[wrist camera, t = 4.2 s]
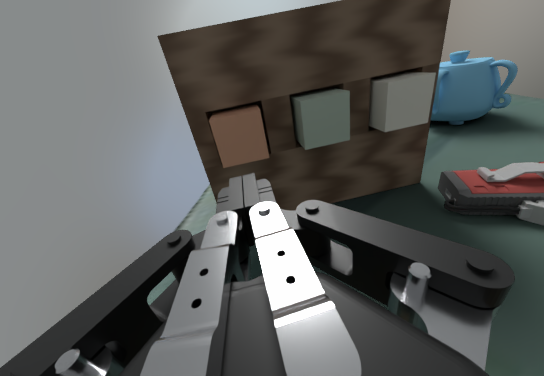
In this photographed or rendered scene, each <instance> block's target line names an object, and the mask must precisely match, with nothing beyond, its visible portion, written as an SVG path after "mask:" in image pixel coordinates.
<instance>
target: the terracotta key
mask: <svg viewBox="0 0 544 376" xmlns="http://www.w3.org/2000/svg"><path fill="white" fill-rule="evenodd" d="M209 123H210V126H211V129H212V133H213V136H214V139H215V142H216V146H217V149H218V152H219V155H220V158H221V162H222V165H223V168H226V167H231V166H235V165H240V164H244V163H249V162H253V161H258V160H262V159H267V158H269V153H268V148H267V143H266V138H265V133H264V127H263V122H262V117H261V112H260V109H259V107H258V106H257V104H253V105H248V106H244V107H239V108H234V109H229V110H225V111H220V112H215V113H213V114H212V116H211V118H210V120H209Z"/></svg>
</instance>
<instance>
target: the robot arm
mask: <svg viewBox="0 0 544 376" xmlns="http://www.w3.org/2000/svg"><path fill="white" fill-rule="evenodd" d="M253 237H254V238H253ZM330 238H332V239H334V240H337V241H339V242H341V243H344V244H345V245H347V246H348V247H349V248H350V249H348V248H346V247H344V246H341V245H339V244H337V243H334V242H332V241H330ZM254 241H255V244H256V245H257V250H258V254H259V258H260V262H261V267H262V271H263V275H261V276H259V277H257V278H255V279H253V280H251V257H250V254H249V252H250V249H249V246H253V245H254ZM311 264H312V265H313V266H315V267H317V268H319V269H321V270H323V271H324V272H326V273H328V274H330V275H332V276H334V277H335V278H337V279H339V280H341V281H343V282H345V283H346V284H348V285H350V286H352V287H354V288H356V289H357V290H359V291H361V292H363V293H365V294H367V295H369V296H370V297H372V298H374V299H376V300H378V301H380V302H381V303H383V304H385V305H387V306H388V307H389V310H390V311H389V310H387V309H385V308H384V307H382V306H380V305H378V304H377V303H375V302H373V301H372V300H370V299H368V298H367V297H365V296H363V295H362V294H360V293H358V292H356V291H355V290H353V289H351V288H350V287H348V286H346V285H345V284H343V283H341V282H340V281H338V280H336V279H334V278H333V277H330V276H328V275H326V274H323V273H319V272H314V270H313V268H312V266H311ZM171 271H172V273H173V275H174V276H175V278H176V280H175V281H174V282H173V283H172V284H171V285H170V286H169V287H168V288H167V289H166V290H165V291H164V292H163V293H162V294H161V295H160V296H159V297H158V298H157V299H156V300H155V301H154V302H153V303H152V304H151V305H148V303H147V297H148V295H149V293H150V292H151V290H152V289H153V288H154V287H155V286H156V285H158V284H159V283H160V282H161V281H162V280H163V279H164V278H165V277H166V276H167V275H168V274H169V273H170V272H171ZM514 280H515V276H514V273H513V271H512V269H511V268H510V267H509V266H508V265H507V264H506V263H505V262H504V261H503V260H501V259H500V258H498V257H496V256H494V255H493V254H490V253H488V252H485V251H483V250H479V249H476V248H473V247H470V246H466V245H463V244H460V243H457V242H453V241H450V240H447V239H443V238H440V237H437V236H434V235H430V234H427V233H424V232H421V231H417V230H414V229H411V228H408V227H404V226H401V225H398V224H395V223H391V222H388V221H385V220H382V219H378V218H375V217H372V216H368V215H365V214H362V213H359V212H355V211H352V210H349V209H346V208H342V207H339V206H336V205H333V204H329V203H326V202H323V201H319V200H308V201H305V202H302V203H301V204H299V205H298V206H297V208H296V210H294V211H289V210H283V209H281V208H279V206H278V205H277V204H276V201H275V197H274V194H273V191H272V188H271V185H270V182H269V181H268V180H266V179H261V180H256V177H255V173H251V174H246V175H243V178H242V176H238V177H233V178H230V179H229V187H226V188H222V189H221V191H220V192H219V193H218V200H217V207H216V214H215V215H214V216H213V217H211V218H210V220H209V221H208V224H207V228H206V230H204V231H202V232H200V233H198V234H195V235H193V236H192V235H191V233H190V232H189V231H188V230H178V231H175V232H172V233H170V234H169V235H167V236H166V237H164V238H163V239H162V240H161V241H159V242H158V243H157V244H156V245H154V246H153V247H152V248H151V249H149V250H148V251H147V252H145V253H144V254H143V255H142V256H141V257H139V258H138V259H137V260H135V261H134V262H133V263H132V264H130V265H129V266H128V267H127V268H125V269H124V270H123V271H122V272H120V273H119V274H118V275H117V276H115V277H114V278H113V279H112V280H110V281H109V282H108V283H107V284H105V285H104V286H103V287H101V288H100V289H99V290H98V291H97V292H95V293H94V294H93V295H91V296H90V297H89V298H88V299H86V300H85V301H84V302H83V303H81V304H80V305H79V306H78V307H76V308H75V309H74V310H73V311H71V312H70V313H69V314H68V315H66V316H65V317H64V318H63V319H61V320H60V321H59V322H58V323H56V324H55V325H54V326H53V327H51V328H50V329H49V330H47V331H46V332H45V333H44V334H42V335H41V336H40V337H39V338H37V339H36V340H35V341H34V342H32V343H31V344H30V345H29V346H27V347H26V348H25V349H24V350H22V351H21V352H20V353H19V354H17V355H16V356H15V357H14V358H12V359H11V360H10V361H8V362H7V363H6V364H5V365H3V366H2V367H1V368H0V376H489V375H488V374H487V373H486V372H485V365H486V358H487V350H488V343H489V336H490V328H491V323H492V322H493V320H494V318H495V316H496V314H497V312H498V310H499V308H500V307H501V305H502V303H503V301H504V299H505V297H506V295H507V293H508V292H509V290H510V288H511V286H512V284H513V282H514Z"/></svg>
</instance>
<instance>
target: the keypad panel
mask: <svg viewBox="0 0 544 376" xmlns="http://www.w3.org/2000/svg"><path fill="white" fill-rule="evenodd" d="M450 1H451V0H341V1H336V2H331V3H326V4H320V5H315V6H310V7H305V8H300V9H295V10H290V11H285V12H279V13H274V14H269V15H264V16H258V17H253V18H248V19H243V20H237V21H232V22H227V23H222V24H217V25H212V26H206V27H202V28H196V29H191V30H186V31H181V32H176V33H171V34H165V35H160V36H158V39H159V42H160V44H161V47H162V50H163V53H164V56H165V58H166V61H167V64H168V67H169V70H170V72H171V75H172V78H173V81H174V84H175V87H176V90H177V92H178V95H179V98H180V101H181V103H182V106H183V109H184V112H185V115H186V118H187V120H188V123H189V126H190V129H191V132H192V134H193V137H194V140H195V143H196V146H197V148H198V151H199V154H200V157H201V160H202V163H203V165H204V168H205V171H206V174H207V177H208V179H209V182H210V185H211V188H212V191H213V194H214V196H215V199H216V202H217V200H218V193H219V192H220V191H221V189H222V188H226V187H229V179H230V178H233V177H238V176H242V178H243V175H246V174H251V173H255V177H256V180H261V179H266V180H268V181H269V182H270V185H271V188H272V191H273V194H274V197H275V201H276V204H277V205H278V206H279V208H281V209H283V210H289V211H294V210H296V208H297V206H298V205H299V204H301V203H302V202H305V201H308V200H319V201H323V202H326V203H329V204H331V203H335V202H339V201H343V200H348V199H352V198H356V197H360V196H365V195H369V194H373V193H377V192H382V191H386V190H390V189H394V188H399V187H403V186H407V185H411V184H416V183H420V180H421V174H422V168H423V162H424V156H425V150H426V145H427V139H428V133H429V127H430V121H431V115H432V109H433V103H434V97H435V91H436V85H437V79H438V73H439V67H440V61H441V55H442V49H443V43H444V37H445V31H446V24H447V19H448V13H449V7H450ZM405 72H423V73H436V75H435V82H434V88H433V94H432V100H431V106H430V112H429V118H428V123H424V124H420V125H415V126H411V127H406V128H402V129H397V130H393V131H388V132H383V131H381V130H378V129H376V128H373V127H371V126H369V101H370V80H372V79H376V78H381V77H386V76H391V75H395V74H400V73H405ZM329 88H336V89H341V90H347V91H350V140H348V141H343V142H339V143H334V144H330V145H325V146H321V147H316V148H312V149H307V150H305V149H304V148H303V146H302V145H301V144H300V143H299V142H298V141H297V140H296V138H295V130H294V122H293V115H292V107H291V99H290V97H291V96H296V95H301V94H305V93H310V92H315V91H320V90H324V89H329ZM253 104H257V106H258V107H259V109H260V112H261V117H262V122H263V127H264V133H265V138H266V143H267V148H268V153H269V158H267V159H262V160H258V161H253V162H249V163H244V164H240V165H235V166H231V167H226V168H223V165H222V162H221V158H220V155H219V152H218V149H217V146H216V142H215V139H214V136H213V133H212V129H211V126H210V123H209V120H210V118H211V116H212V114H213V113H215V112H220V111H225V110H229V109H234V108H239V107H244V106H248V105H253Z"/></svg>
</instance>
